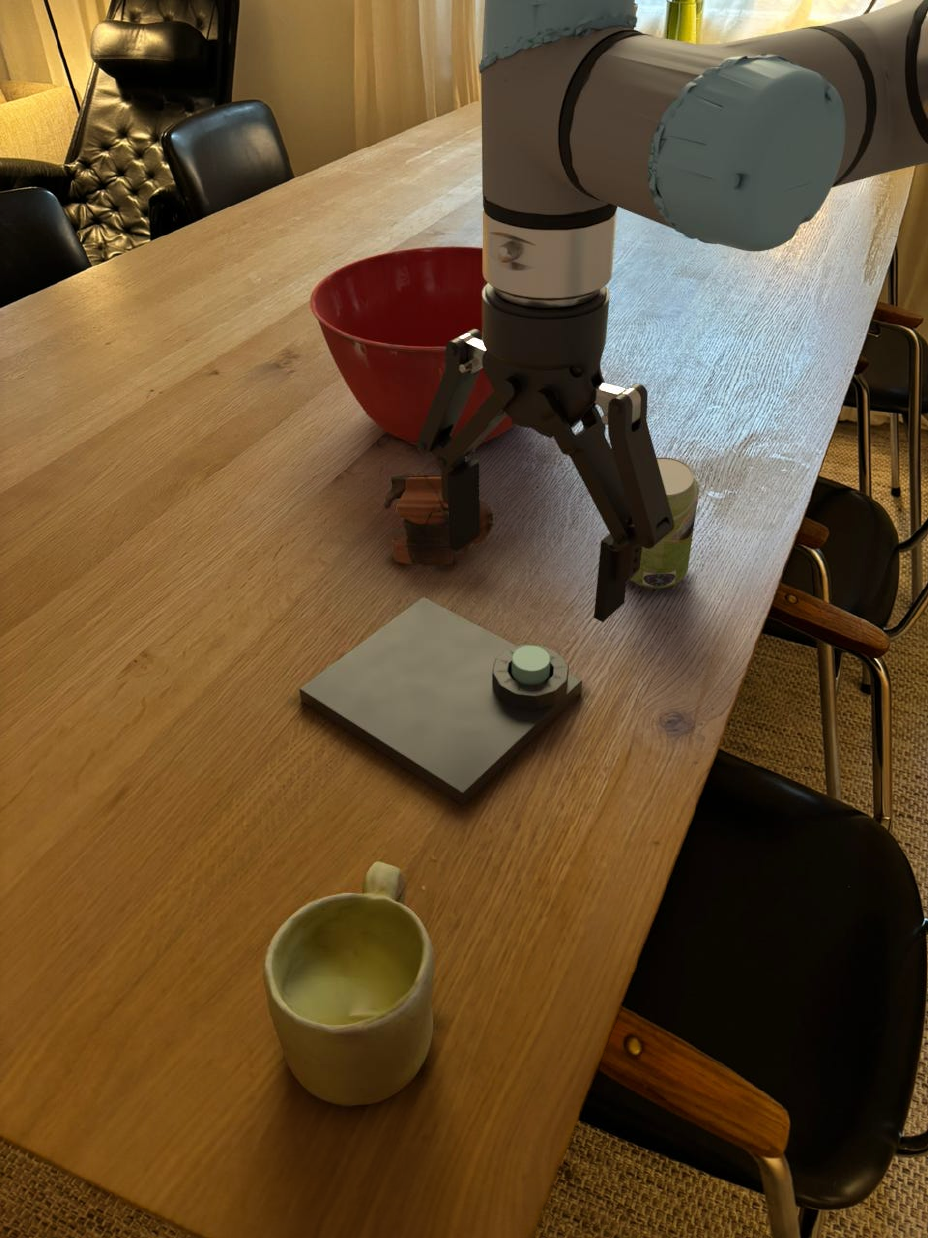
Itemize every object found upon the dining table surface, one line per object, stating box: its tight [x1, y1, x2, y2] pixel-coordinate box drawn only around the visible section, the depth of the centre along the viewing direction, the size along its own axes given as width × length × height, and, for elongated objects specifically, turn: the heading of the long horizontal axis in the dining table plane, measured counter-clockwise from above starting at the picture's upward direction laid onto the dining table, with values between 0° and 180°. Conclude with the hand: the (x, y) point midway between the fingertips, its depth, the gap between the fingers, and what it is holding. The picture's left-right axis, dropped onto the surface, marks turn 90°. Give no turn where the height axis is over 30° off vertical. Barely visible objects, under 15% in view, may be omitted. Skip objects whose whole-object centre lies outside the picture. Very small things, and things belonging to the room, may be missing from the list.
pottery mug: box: [382, 474, 495, 567], centre depth 95 cm, size 12×10×8 cm
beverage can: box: [626, 456, 700, 589], centre depth 88 cm, size 6×7×12 cm
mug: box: [262, 860, 435, 1107], centre depth 57 cm, size 12×10×10 cm
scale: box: [298, 596, 583, 806], centre depth 79 cm, size 17×15×3 cm
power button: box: [512, 646, 550, 685], centre depth 78 cm, size 3×3×2 cm
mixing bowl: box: [309, 245, 516, 446], centre depth 110 cm, size 28×28×16 cm
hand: (533, 574), depth 72 cm, fingers open, 12 cm apart
